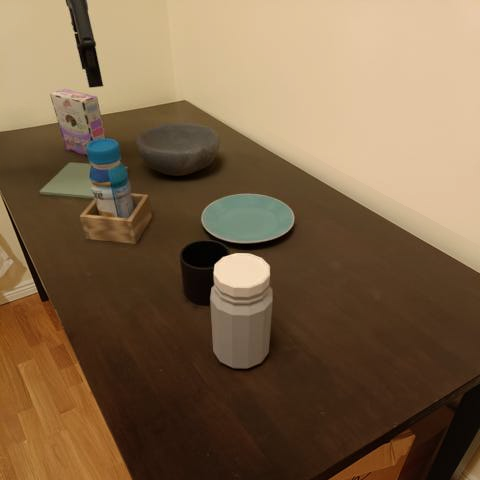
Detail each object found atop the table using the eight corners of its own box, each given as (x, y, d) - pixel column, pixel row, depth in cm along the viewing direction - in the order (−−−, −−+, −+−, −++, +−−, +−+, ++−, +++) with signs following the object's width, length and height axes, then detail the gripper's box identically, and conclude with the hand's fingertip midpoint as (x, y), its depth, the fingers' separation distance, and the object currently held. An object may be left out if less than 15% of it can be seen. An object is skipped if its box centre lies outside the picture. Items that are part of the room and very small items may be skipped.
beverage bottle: (140, 234, 101) (124, 149, 87) (103, 239, 99) (81, 154, 85) (136, 216, 106) (120, 134, 92) (101, 221, 105) (80, 138, 91)
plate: (186, 241, 99) (185, 230, 97) (222, 196, 114) (221, 186, 112) (278, 261, 93) (279, 250, 91) (303, 211, 108) (304, 201, 106)
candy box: (110, 152, 133) (98, 95, 121) (96, 159, 129) (82, 101, 118) (79, 143, 138) (64, 87, 127) (64, 149, 135) (48, 92, 123)
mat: (40, 194, 114) (39, 191, 114) (70, 164, 127) (69, 162, 126) (104, 199, 112) (103, 197, 112) (128, 169, 125) (127, 166, 124)
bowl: (208, 148, 135) (206, 115, 128) (229, 180, 120) (229, 144, 113) (135, 158, 130) (129, 124, 123) (147, 192, 115) (142, 156, 108)
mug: (218, 264, 92) (216, 228, 86) (237, 299, 84) (237, 262, 78) (175, 274, 90) (170, 237, 84) (191, 310, 82) (187, 273, 76)
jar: (223, 326, 79) (220, 244, 66) (274, 337, 77) (282, 255, 64) (205, 365, 72) (198, 283, 60) (260, 378, 70) (266, 296, 58)
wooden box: (86, 239, 99) (79, 216, 95) (106, 212, 108) (100, 190, 103) (135, 244, 98) (131, 221, 94) (152, 216, 106) (148, 194, 102)
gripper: (93, -54, 67) (119, 93, 82) (78, -63, 84) (102, 60, 99) (43, -53, 65) (79, 97, 80) (38, -63, 82) (68, 63, 97)
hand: (92, 77), depth 89 cm, fingers open, 13 cm apart
